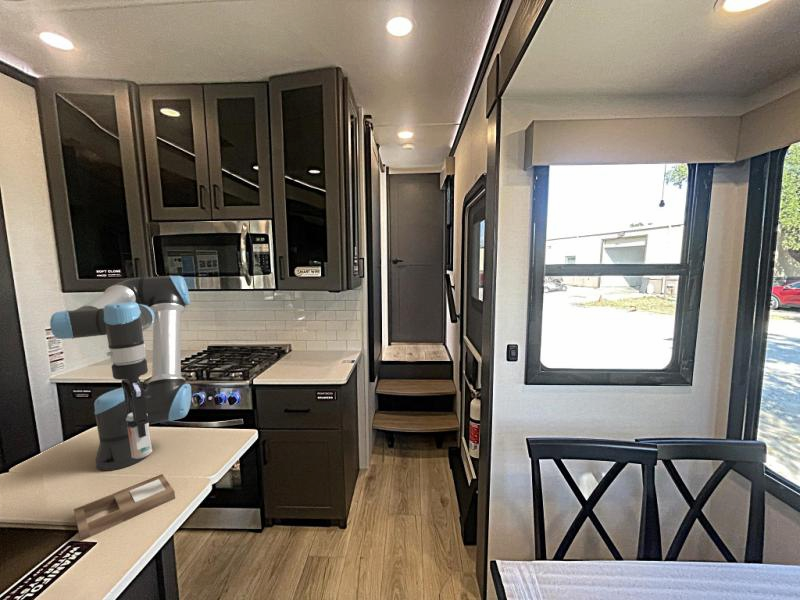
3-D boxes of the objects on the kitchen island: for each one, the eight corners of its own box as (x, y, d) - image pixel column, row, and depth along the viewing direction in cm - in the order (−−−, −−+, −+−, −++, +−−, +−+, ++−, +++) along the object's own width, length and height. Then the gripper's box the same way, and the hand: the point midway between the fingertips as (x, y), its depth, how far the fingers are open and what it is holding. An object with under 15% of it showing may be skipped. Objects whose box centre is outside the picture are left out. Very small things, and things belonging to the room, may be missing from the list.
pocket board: (75, 517, 96) (73, 508, 96) (163, 480, 110) (162, 473, 110) (80, 540, 88) (79, 531, 87) (175, 498, 102) (174, 490, 102)
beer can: (138, 451, 103) (132, 410, 101) (156, 449, 103) (150, 409, 102) (127, 460, 98) (121, 418, 96) (146, 459, 98) (140, 416, 97)
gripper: (105, 358, 101) (117, 438, 104) (118, 371, 88) (131, 461, 91) (138, 352, 106) (148, 428, 109) (154, 363, 94) (165, 449, 97)
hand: (140, 443), depth 100 cm, fingers closed on beer can, 5 cm apart
